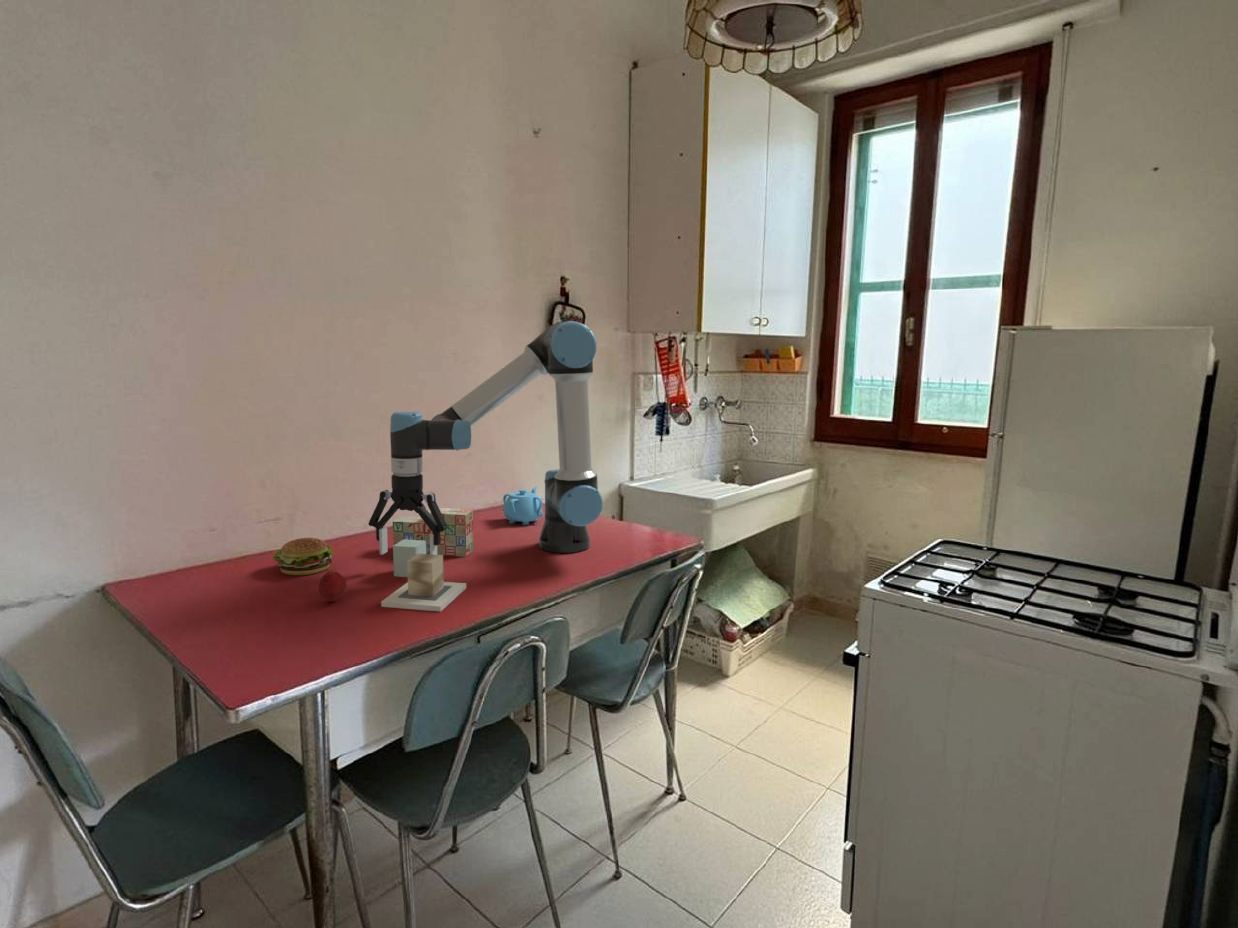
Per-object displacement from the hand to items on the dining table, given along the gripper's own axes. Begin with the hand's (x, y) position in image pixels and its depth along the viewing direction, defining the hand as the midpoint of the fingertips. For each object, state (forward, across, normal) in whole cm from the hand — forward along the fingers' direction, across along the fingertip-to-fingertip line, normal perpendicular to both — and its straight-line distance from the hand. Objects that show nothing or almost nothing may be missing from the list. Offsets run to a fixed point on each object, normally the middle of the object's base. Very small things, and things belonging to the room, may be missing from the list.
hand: (408, 555), depth 172 cm
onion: (+5, -8, -22) cm, 24 cm away
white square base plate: (+5, +11, -15) cm, 19 cm away
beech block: (+3, +12, -15) cm, 19 cm away
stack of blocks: (+5, -2, +19) cm, 20 cm away
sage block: (+5, 0, 0) cm, 5 cm away
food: (+6, -28, -3) cm, 28 cm away
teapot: (+4, +13, +57) cm, 59 cm away
